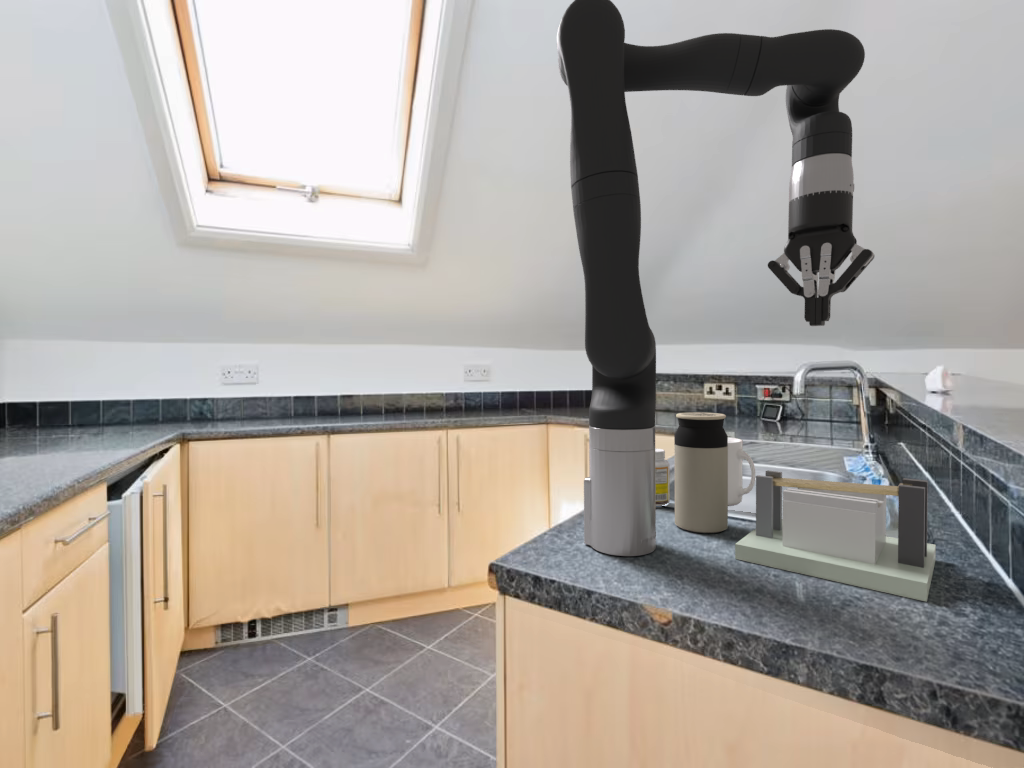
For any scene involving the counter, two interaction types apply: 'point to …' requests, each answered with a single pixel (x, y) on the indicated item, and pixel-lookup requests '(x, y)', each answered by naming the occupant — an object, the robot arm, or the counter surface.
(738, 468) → the mug
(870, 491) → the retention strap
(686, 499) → the travel mug
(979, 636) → the counter surface
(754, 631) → the counter surface
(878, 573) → the board
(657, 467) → the supplement bottle
